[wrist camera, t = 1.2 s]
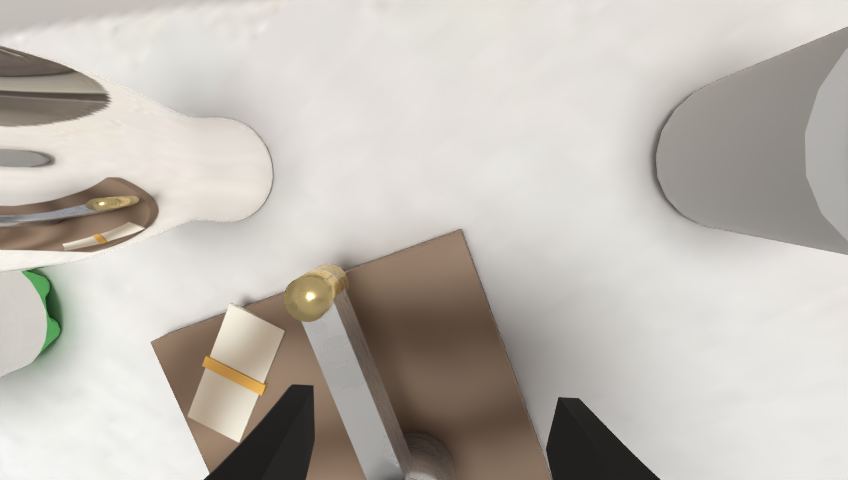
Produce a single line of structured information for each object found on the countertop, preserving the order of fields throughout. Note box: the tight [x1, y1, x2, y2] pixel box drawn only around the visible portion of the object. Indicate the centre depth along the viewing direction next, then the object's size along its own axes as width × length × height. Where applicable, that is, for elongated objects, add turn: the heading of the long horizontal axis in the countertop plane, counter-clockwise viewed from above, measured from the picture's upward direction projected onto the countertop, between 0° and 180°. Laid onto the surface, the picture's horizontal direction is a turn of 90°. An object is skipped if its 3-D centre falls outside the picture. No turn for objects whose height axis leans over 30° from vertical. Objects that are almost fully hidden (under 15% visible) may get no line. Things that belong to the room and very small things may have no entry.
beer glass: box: [0, 46, 273, 274], centre depth 17 cm, size 7×7×15 cm
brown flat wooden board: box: [151, 229, 552, 480], centre depth 25 cm, size 21×20×2 cm
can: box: [656, 27, 848, 255], centre depth 15 cm, size 8×8×12 cm
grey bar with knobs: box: [284, 264, 455, 480], centre depth 20 cm, size 16×5×6 cm, turn 20°
